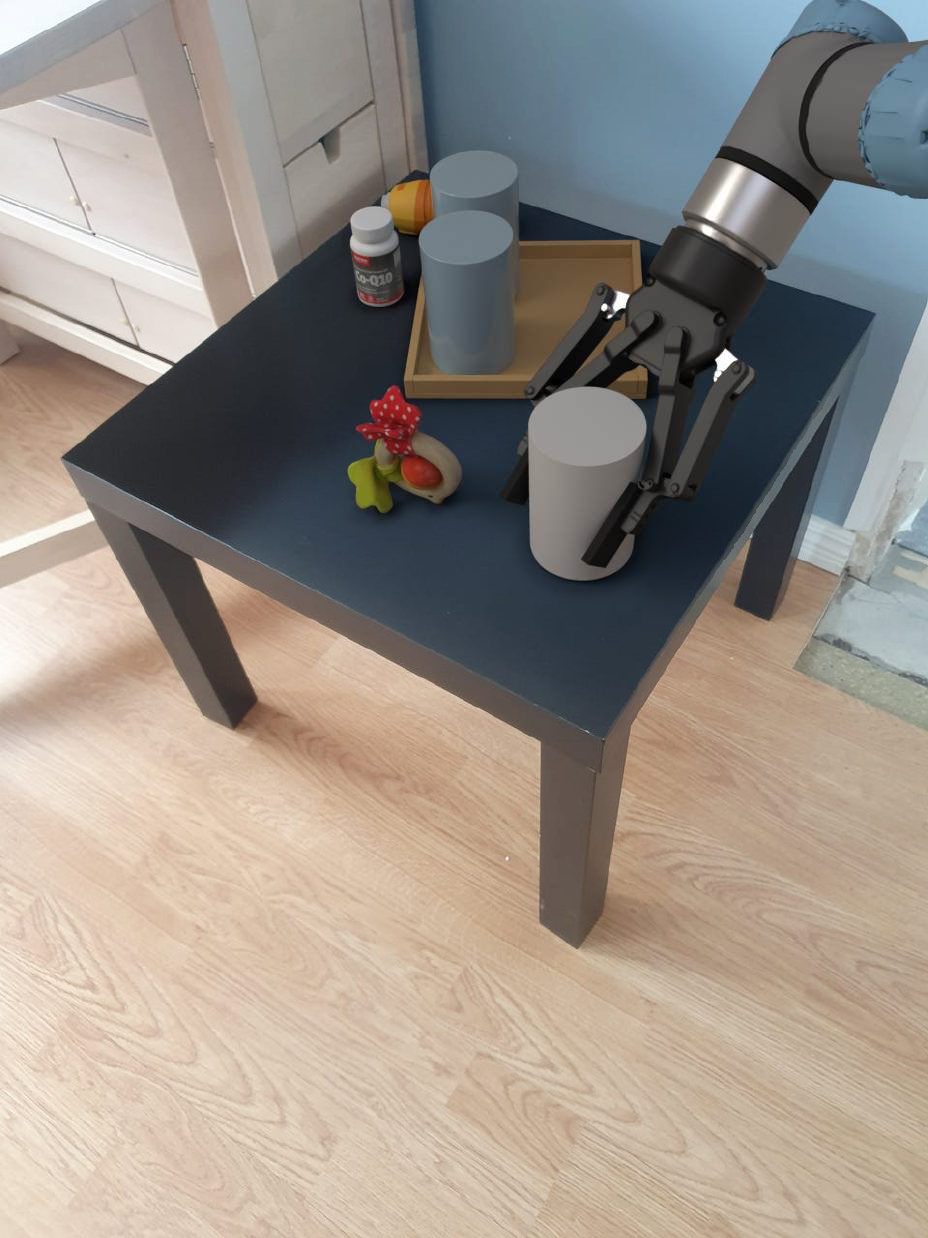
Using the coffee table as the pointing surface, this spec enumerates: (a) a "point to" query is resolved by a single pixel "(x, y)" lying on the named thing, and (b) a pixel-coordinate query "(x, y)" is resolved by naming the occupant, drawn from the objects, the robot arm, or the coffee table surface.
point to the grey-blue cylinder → (479, 190)
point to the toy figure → (410, 206)
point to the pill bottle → (376, 257)
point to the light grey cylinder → (580, 475)
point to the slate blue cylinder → (469, 292)
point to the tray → (538, 319)
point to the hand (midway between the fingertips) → (551, 531)
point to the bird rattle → (424, 457)
